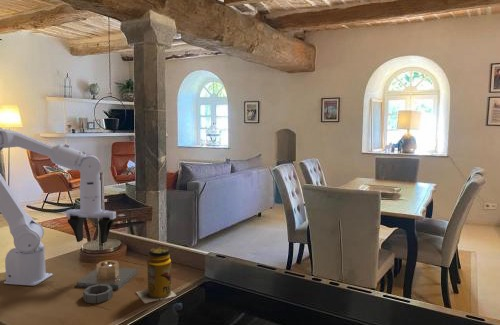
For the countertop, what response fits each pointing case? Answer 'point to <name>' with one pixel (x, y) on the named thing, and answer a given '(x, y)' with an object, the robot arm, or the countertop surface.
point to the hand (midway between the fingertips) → (91, 241)
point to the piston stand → (115, 283)
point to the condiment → (158, 276)
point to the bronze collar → (107, 269)
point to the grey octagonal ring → (92, 297)
